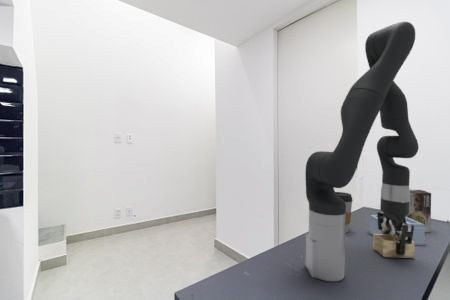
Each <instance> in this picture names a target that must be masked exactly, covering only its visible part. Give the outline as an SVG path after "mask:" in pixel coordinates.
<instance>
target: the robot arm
mask: <svg viewBox="0 0 450 300" xmlns="http://www.w3.org/2000/svg"><path fill="white" fill-rule="evenodd" d="M415 41H416V29H415V26H414V25H413V24H412V23H411V22H409V21H400V22H399V21H398V22H396V23H393V24H391V25H388V26H386V27H383V28H381V29H379V30H376V31H374V32H372V33H370V34H369V36H367V38H366V40H365V45H364V47H365V49H364V52H365V55H366V60H367V64H368V68H369V69H368V70H367V71H365V72H364V73H363V75H361V76H360V77H359V78H358V79H357V80H356V81H355V82H354V84H353V85H352V86H351V87H350V89H349V90H348V92H347V94H346V95H345V98H344V101H343V102H342V105H341V107H340V120H341V126H342V133H341V136H340V138H339V141H338V143H337V145H336V147H335V148H334V150H333V151H321V150H320V151H315V152H313V153H312V154H311V155H309V157H308V158H307V161H306V165H305V194H306V199H307V202H308V233H307V232H306V234H305V267H306V270H307V271H308V273H309V275H310V276H311V277H312V278H313V279H314V278H315V279H319V280H322V281H326V282H340V281H342V280H343V279H344V277H345V267H346V266H345V256H346V255H345V254H346V253H345V251H346V249H345V248H346V233H345V222H346V204H345V202H344V201H343V200H342V199H341V198H340V197H339V196H338V195H337V194H336V192H337V191H335V188H336V189H342V188H344V187H346V186H347V185H349V184H350V183H351V181H352V179H353V178H354V175H355V173H356V171H357V167H358V165H359V162H360V158H361V156H362V152H363V149H364V147H365V144H366V141H367V138H368V136H369V134H370V131H371V129H372V128H373V125H374V122H375V121H376V119H377V118H378V117H377V116H378V114H379V117H380V125H381V127H382V128H383V129H385V130H389V131H390V130H391V131H393V132H395V133H396V134H397V135H383V136H382V137H380V138H379V140H378V141H377V143H376V153H377V155H378V157H379V161H380V165H381V170H382V178H381V180H382V181H381V187H380V188H381V189H380V206H379V207H380V211H379V212H377V214H376V215H377V217H378V229H379V230H381V233H382V234H391V232H393V235H395V238H396V242H397V243H396V254H397V255H404V254H405V244H412V238H413V232H414V226H413V225H409V224H407V223H406V219H405V217H406V216H407V215H409V206H410V190H411V189H410V178H411V177H410V175H411V174H410V173H411V172H410V168H409V167H408V166H405V165H402V164H398V163H396V161H395V160H394V158H395V159H411V158H412V159H413V158H414V157H415V156H416V155H417V154H418V151H419V143H418V139H417V137H416V135H415V133H414V131H413V129H412V126H411V123H410V120H409V109H408V108H409V107H408V101H407V97H406V95H405V93H404V92H403V91H402V89H401V87H399V86H398V85H397V84H396V82H395V78H396V77H397V74H398V73H399V71H400V70H401V67H402V66H403V65H404V63H405V62H406V60H407V58H408V57H409V56H410V53H411V52H412V49H413V48H414V44H415ZM381 223H383V224H382V226H381ZM401 230H402V232H397V231H401ZM399 235H401V239H400V237H399ZM406 237H408V239H406Z"/></svg>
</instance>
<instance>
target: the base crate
mask: <svg viewBox="0 0 450 300" xmlns="http://www.w3.org/2000/svg"><path fill="white" fill-rule="evenodd" d="M405 219H406V223H407V224H409V225H413V226H414V232H413V238H412V241H414V242H415V246H426V243H425V241H426V239H425V237H426V232H425V228H424V224H422V223H420V222H417V221H415V220H413V219H410V218H408V217H405ZM382 224H383V223H381V226H382ZM397 232H402V230H401V231H397ZM368 233H369V234H370V235H372V236H373V234H382V233H381V230H379V229H378V217H377V214H370V215H369V218H368ZM391 234H393V232H391ZM407 238H408V237H407Z"/></svg>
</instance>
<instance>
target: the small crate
mask: <svg viewBox="0 0 450 300" xmlns="http://www.w3.org/2000/svg"><path fill="white" fill-rule="evenodd" d="M372 237H373V238H372V239H373V240H372V241H373V242H372V249H373V250H374V251H375V252H377V253H378V254H379V255H381V256H382V257H384V258H395V259H396V258H397V259H400V258H401V259H415V253H416V252H415V249H416V248H415V247H416V245H415V242H414V241H412V244H405V254H404V255H397V254H396V243H397V242H396V238H395V235H393V234H373V235H372ZM399 237H400V239H401V235H399ZM406 239H408V238H407V237H406Z"/></svg>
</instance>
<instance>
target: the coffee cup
mask: <svg viewBox="0 0 450 300" xmlns="http://www.w3.org/2000/svg"><path fill="white" fill-rule="evenodd" d="M335 192H336V194H337V195H338V196H339V197H340V198H341V199H342V200H343V201H344V202H345V204H346V222H345V234H348V233H349V231H350V227H351V225H350V224H351V219H352V218H351V217H352V205H353V197H352V193H348V192H344V191H343V192H342V191H335Z"/></svg>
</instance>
